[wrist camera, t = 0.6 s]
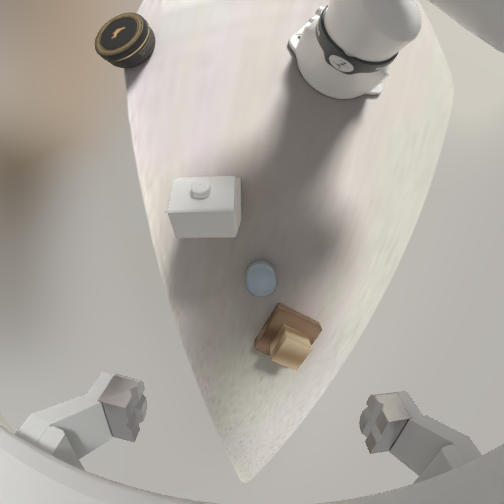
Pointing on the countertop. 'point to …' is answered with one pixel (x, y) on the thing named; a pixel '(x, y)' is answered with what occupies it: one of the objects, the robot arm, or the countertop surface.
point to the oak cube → (290, 347)
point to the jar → (125, 40)
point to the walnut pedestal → (290, 319)
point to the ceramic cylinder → (261, 278)
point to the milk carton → (205, 206)
